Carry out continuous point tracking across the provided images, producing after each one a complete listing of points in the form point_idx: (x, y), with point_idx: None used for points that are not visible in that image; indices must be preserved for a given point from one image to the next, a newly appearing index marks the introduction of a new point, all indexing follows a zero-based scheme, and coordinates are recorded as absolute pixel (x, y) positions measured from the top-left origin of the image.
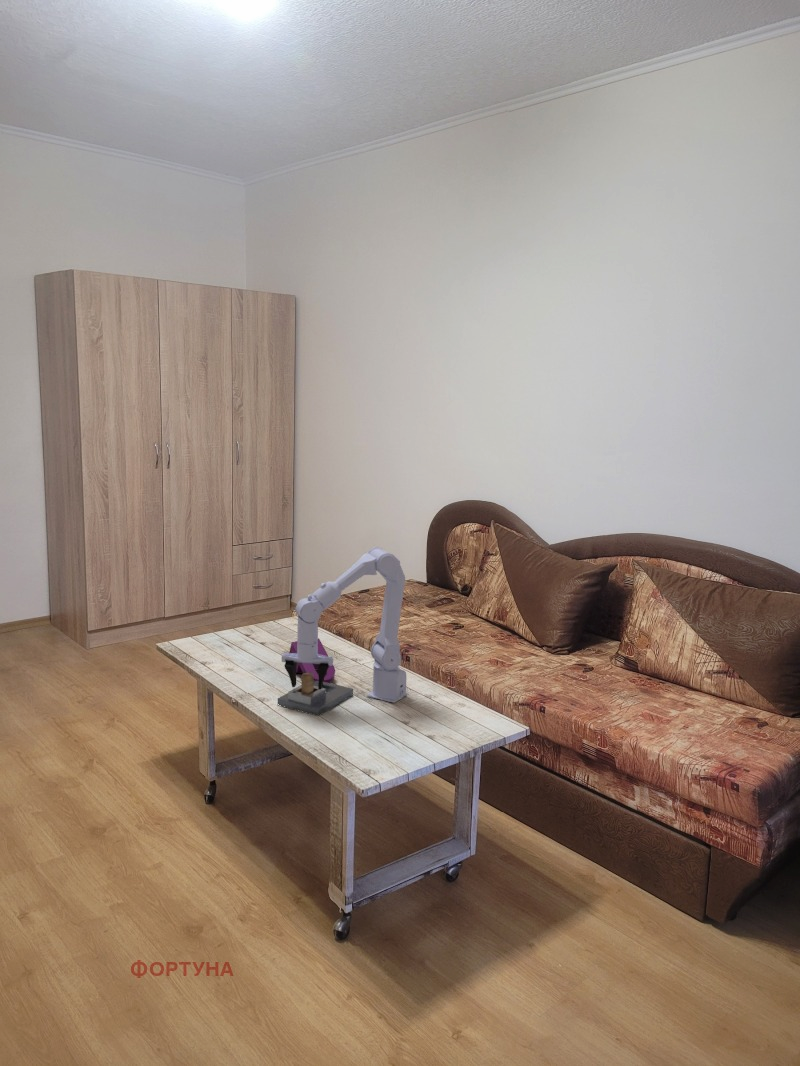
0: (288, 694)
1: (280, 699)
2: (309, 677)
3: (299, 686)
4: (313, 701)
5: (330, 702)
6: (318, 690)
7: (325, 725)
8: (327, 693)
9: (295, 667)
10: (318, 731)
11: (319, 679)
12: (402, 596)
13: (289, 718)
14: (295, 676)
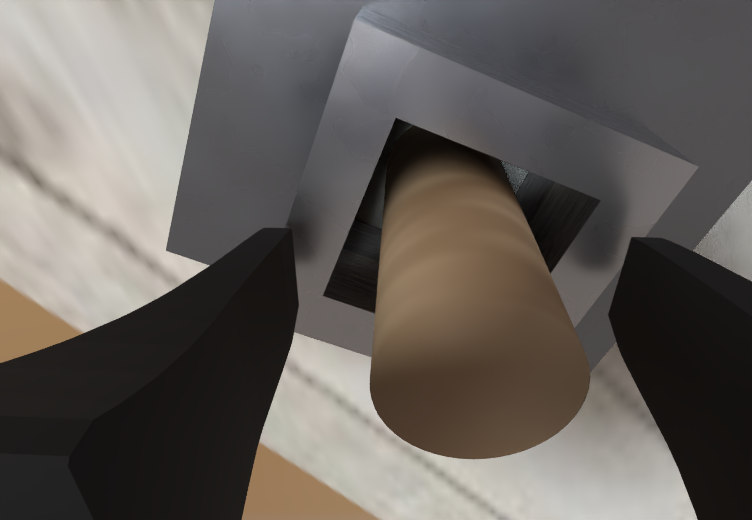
0: None
1: (199, 259)
2: (521, 446)
3: (325, 154)
4: None
5: (692, 247)
6: (595, 239)
7: (613, 451)
8: (679, 9)
9: (198, 434)
10: (571, 507)
11: (683, 451)
12: None
13: (364, 400)
14: (256, 316)
